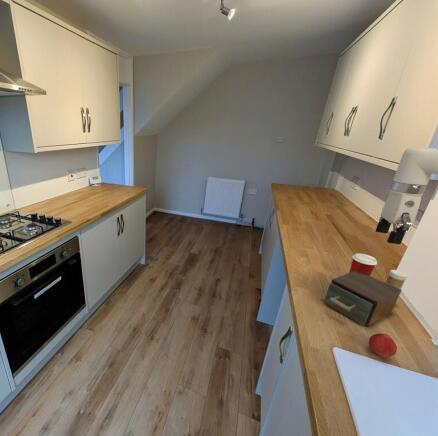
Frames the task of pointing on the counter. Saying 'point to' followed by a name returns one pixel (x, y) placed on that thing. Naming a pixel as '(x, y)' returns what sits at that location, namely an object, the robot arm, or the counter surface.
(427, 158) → the robot arm
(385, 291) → the cabinet
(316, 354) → the counter surface
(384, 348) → the onion
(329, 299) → the drawer
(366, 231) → the counter surface
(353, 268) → the paper cup
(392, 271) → the sprinkles bottle
